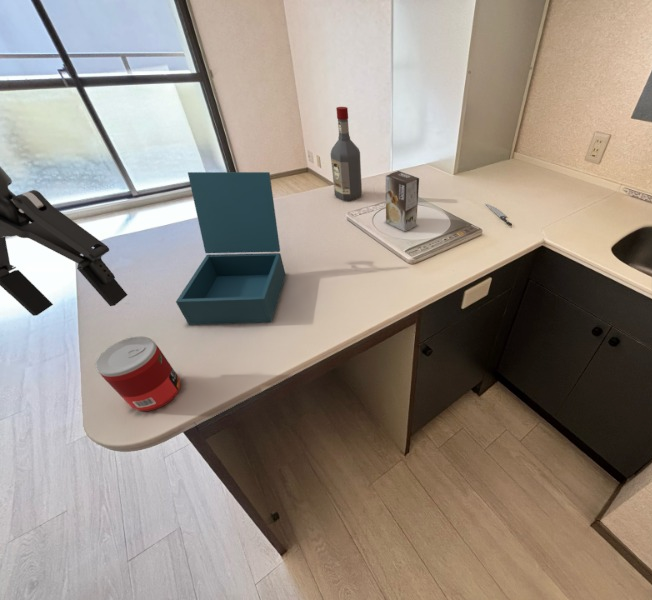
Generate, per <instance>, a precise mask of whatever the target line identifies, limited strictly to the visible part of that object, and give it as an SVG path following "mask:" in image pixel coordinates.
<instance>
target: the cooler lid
mask: <svg viewBox="0 0 652 600" xmlns="http://www.w3.org/2000/svg"><path fill="white" fill-rule="evenodd" d="M187 175H188V181H189V184H190V189H191V194H192V198H193V203H194V208H195V212H196V217H197V221H198V226H199V230H200V235H201V239H202V244H203V248H204V252H205V254H247V253H280V252H281V245H280V239H279V232H278V225H277V217H276V210H275V202H274V195H273V188H272V181H271V173H270V172H269V171H214V172H213V171H187Z"/></svg>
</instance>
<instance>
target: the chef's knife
mask: <svg viewBox="0 0 652 600" xmlns="http://www.w3.org/2000/svg"><path fill="white" fill-rule="evenodd" d="M484 204H485V206H486V207H488V209H490V210H491V211H492V212H493V213H494V214H495V215H496V216H498V217H499V218H500V219H501V220H502V221H503V222H504V223H505V224H507V225H508V226H509V227H512V225H513V224H512V222H510V221H509V220H508V219H506V217H507V214H505V213H504V212H503V211H502V210H500V209H499V208H497V207H495V206H493V205H491V204H489V203H484Z"/></svg>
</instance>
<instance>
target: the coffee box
mask: <svg viewBox="0 0 652 600" xmlns="http://www.w3.org/2000/svg"><path fill="white" fill-rule="evenodd" d="M419 187H420V177H417V176H414V175H412V174H408V173H405V172H403V171H401V170H400V171H399V170H397V171H393V172H391V173H389V174H386V175H385V223H386V224H388V225H390V226H392V227H394V228H397V229H398V230H401V231H403V232H407V231H409V230H411V229H413V228H415V227H417V222H418V220H417V219H418V207H419V206H418V205H419V189H420V188H419Z"/></svg>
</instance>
